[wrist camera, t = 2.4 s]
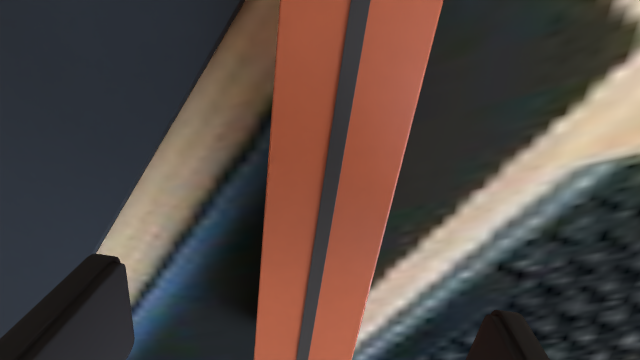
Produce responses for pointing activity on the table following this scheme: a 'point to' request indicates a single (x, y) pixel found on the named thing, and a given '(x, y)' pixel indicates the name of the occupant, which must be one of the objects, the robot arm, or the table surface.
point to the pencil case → (334, 165)
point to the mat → (85, 122)
